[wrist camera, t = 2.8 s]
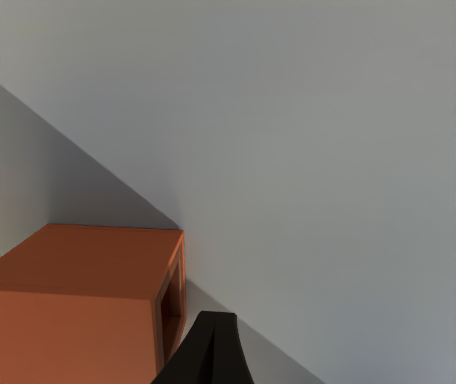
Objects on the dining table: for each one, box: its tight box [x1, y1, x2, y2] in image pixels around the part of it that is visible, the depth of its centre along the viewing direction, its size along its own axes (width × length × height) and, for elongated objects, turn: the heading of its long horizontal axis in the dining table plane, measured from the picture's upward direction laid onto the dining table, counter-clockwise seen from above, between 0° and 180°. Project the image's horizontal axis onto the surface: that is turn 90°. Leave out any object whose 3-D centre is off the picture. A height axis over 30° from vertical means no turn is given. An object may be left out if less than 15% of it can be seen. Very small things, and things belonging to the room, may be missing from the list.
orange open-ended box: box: [0, 224, 186, 384], centre depth 14 cm, size 6×5×5 cm
